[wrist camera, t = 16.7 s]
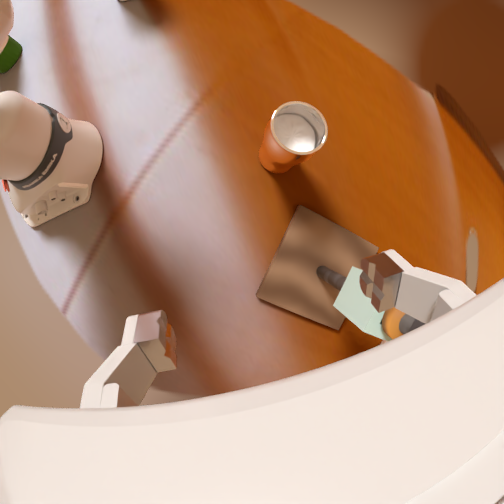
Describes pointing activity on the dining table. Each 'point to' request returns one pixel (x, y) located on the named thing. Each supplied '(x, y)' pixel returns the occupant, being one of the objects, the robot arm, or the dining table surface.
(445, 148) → the dining table surface
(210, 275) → the dining table surface
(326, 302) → the post stand
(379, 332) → the marker sleeve
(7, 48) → the wine bottle
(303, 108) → the beer glass
